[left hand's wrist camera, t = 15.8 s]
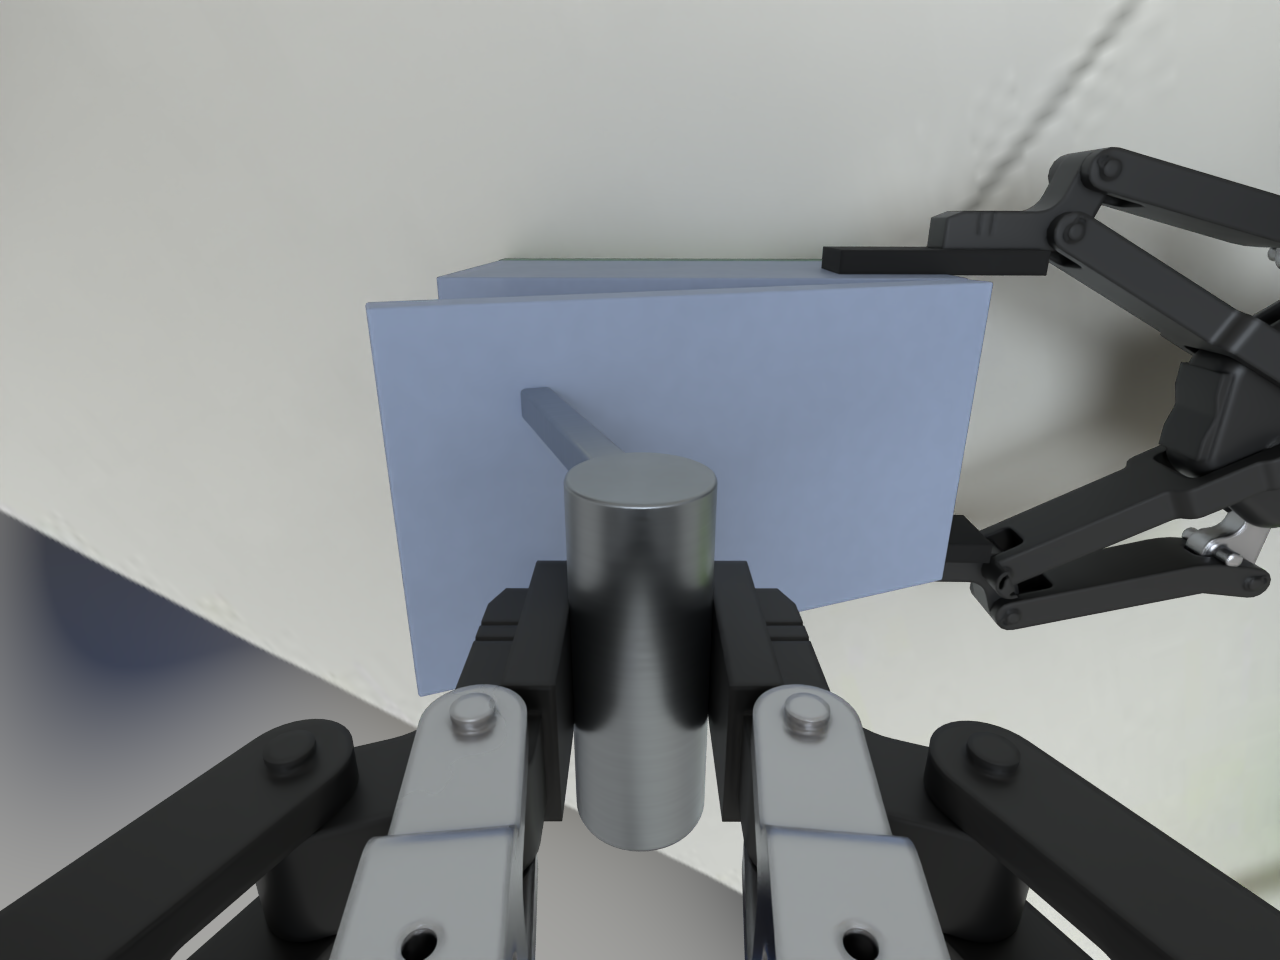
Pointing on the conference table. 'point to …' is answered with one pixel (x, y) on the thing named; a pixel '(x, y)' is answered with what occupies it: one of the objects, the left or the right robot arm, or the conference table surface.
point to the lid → (667, 485)
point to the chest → (644, 276)
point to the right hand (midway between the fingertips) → (817, 407)
